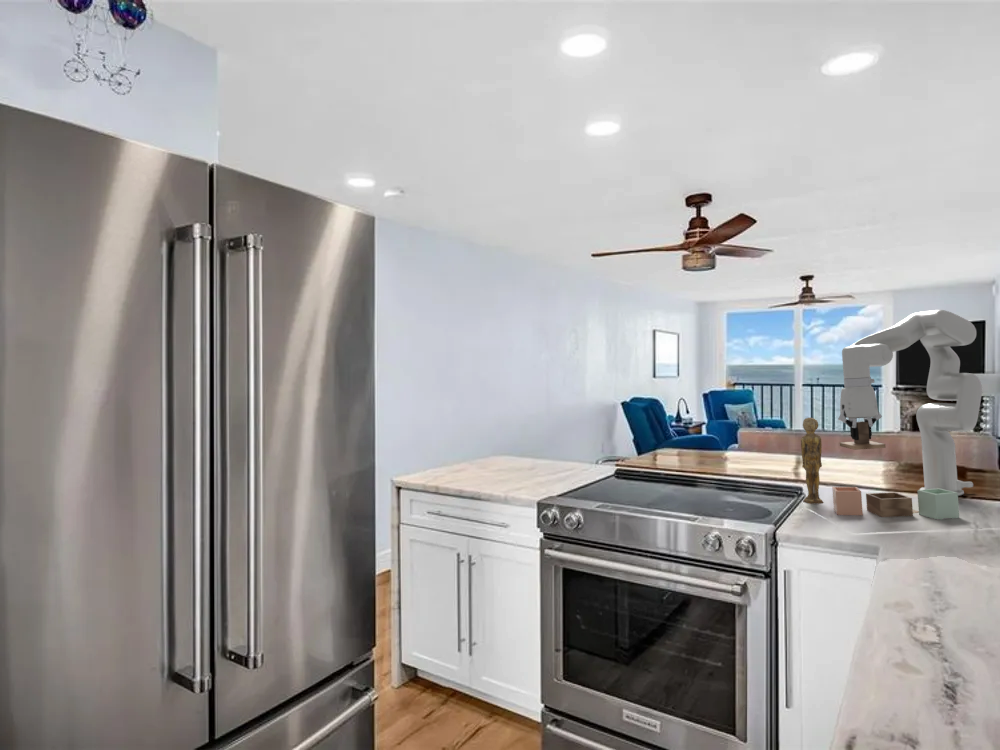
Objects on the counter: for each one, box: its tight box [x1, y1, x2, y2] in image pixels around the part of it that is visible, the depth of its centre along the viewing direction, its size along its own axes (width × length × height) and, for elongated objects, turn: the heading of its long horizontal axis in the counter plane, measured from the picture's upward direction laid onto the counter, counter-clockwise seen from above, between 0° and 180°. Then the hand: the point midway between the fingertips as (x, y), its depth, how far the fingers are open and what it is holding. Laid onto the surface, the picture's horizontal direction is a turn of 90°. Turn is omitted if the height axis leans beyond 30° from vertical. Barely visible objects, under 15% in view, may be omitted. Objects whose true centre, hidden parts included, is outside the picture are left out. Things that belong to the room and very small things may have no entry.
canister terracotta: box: [832, 486, 864, 516], centre depth 194 cm, size 7×7×8 cm
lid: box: [839, 420, 886, 451], centre depth 200 cm, size 10×10×8 cm
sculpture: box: [800, 417, 824, 505], centre depth 210 cm, size 7×6×30 cm
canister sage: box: [916, 488, 960, 520], centre depth 183 cm, size 7×7×8 cm
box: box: [865, 491, 914, 518], centre depth 190 cm, size 9×9×6 cm
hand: (861, 438), depth 200 cm, fingers closed on lid, 3 cm apart
